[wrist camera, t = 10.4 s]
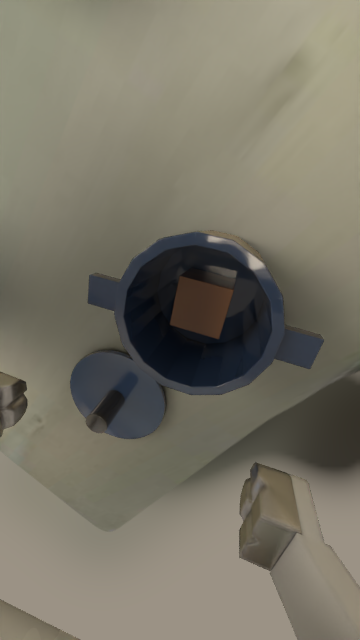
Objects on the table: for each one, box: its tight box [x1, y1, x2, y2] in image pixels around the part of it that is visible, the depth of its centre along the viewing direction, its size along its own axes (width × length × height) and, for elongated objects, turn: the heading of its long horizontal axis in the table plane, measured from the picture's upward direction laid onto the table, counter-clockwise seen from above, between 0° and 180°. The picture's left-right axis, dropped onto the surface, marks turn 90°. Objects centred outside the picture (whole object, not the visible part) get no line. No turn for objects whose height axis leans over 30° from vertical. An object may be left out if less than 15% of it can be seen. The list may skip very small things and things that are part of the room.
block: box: [170, 268, 236, 339], centre depth 23 cm, size 4×4×4 cm
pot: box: [88, 230, 324, 395], centre depth 21 cm, size 12×17×8 cm
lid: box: [70, 350, 166, 439], centre depth 30 cm, size 13×13×6 cm
